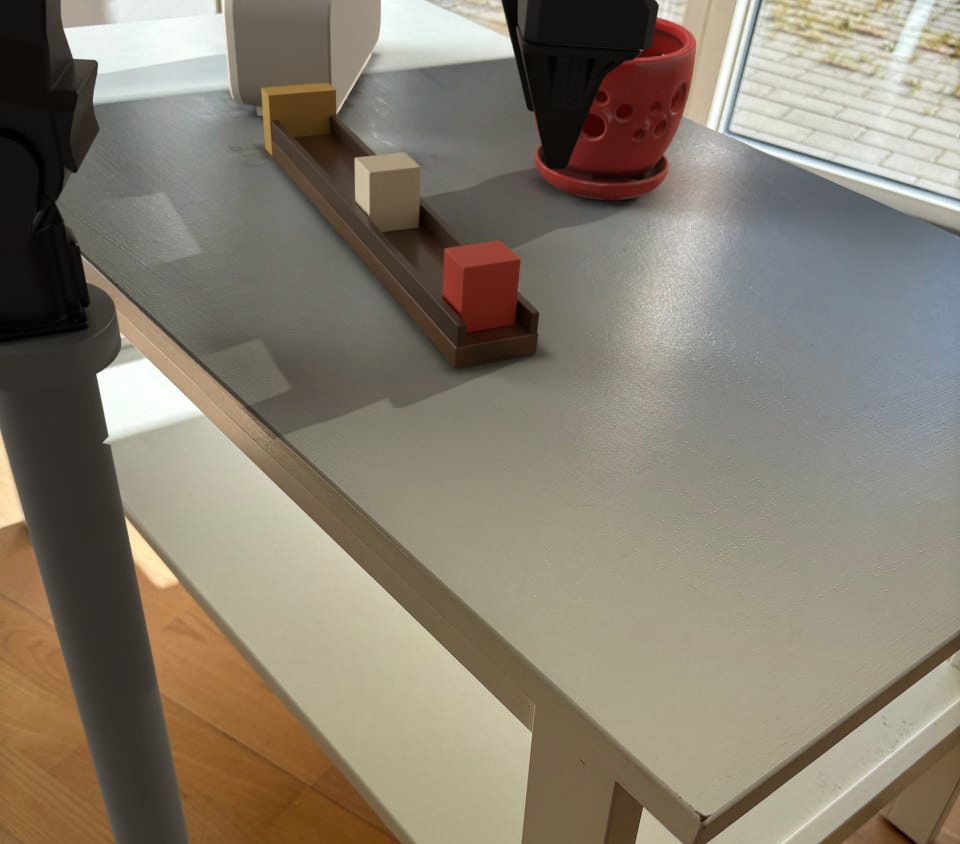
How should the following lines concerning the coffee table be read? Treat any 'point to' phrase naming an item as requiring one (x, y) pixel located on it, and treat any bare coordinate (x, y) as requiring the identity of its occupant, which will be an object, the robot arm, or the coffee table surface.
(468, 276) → the block
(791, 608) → the coffee table surface
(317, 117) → the left stop
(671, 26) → the flower pot
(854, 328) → the coffee table surface
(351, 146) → the rail
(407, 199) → the block
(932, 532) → the coffee table surface
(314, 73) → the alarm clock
